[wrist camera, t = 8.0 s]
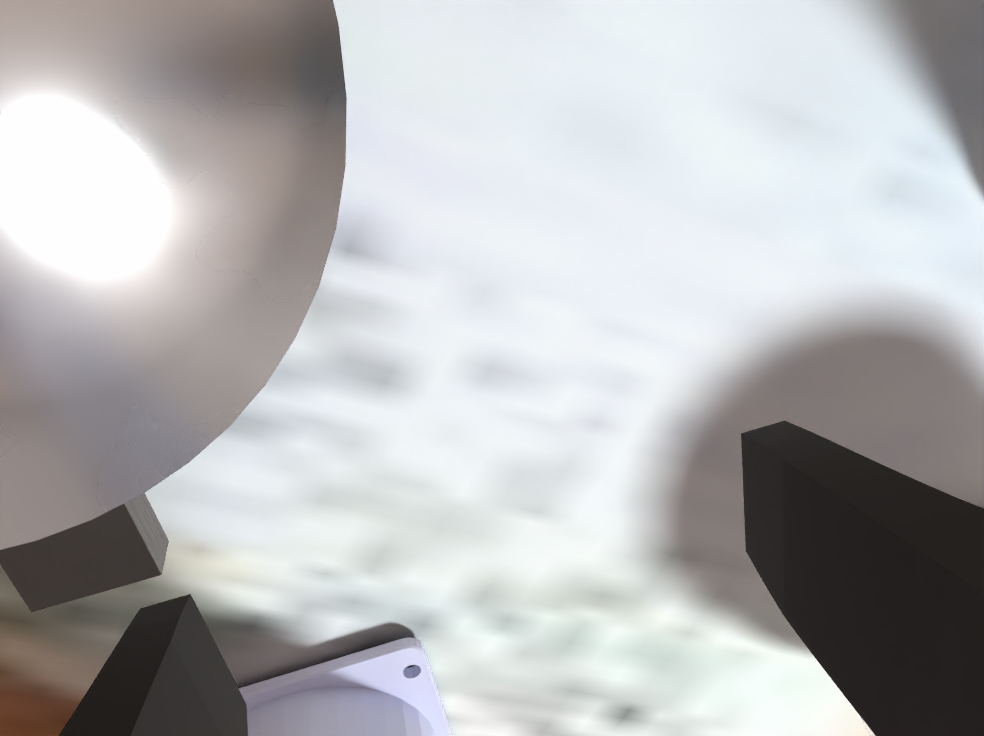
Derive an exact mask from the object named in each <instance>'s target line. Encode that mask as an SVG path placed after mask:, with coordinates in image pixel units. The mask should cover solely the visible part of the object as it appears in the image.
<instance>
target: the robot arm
mask: <svg viewBox="0 0 984 736" xmlns="http://www.w3.org/2000/svg"><path fill="white" fill-rule="evenodd" d="M741 439H742V464H743V490H744V515H745V541H746V552H747V554H748V555H749V557H750V559H751V561H752V562H753V564H754V566H755V568H756V570H757V571H758V573H759V575H760V577H761V578H762V580H763V582H764V584H765V585H766V587H767V589H768V590H769V592H770V594H771V595H772V597H773V599H774V600H775V602H776V604H777V605H778V607H779V609H780V610H781V612H782V614H783V615H784V617H785V618H786V619H787V621H788V622H789V623H790V625H791V626H792V628H793V629H794V630H795V632H796V633H797V634H798V636H799V637H800V638H801V639H802V641H803V642H804V643H805V645H806V646H807V647H808V649H809V650H810V651H811V653H812V654H813V655H814V657H815V658H816V659H817V661H818V662H819V663H820V664H821V666H822V667H823V668H824V670H825V671H826V672H827V674H828V675H829V676H830V677H831V679H832V680H833V681H834V683H835V684H836V685H837V687H838V688H839V689H840V690H841V692H842V693H843V694H844V696H845V697H846V698H847V699H848V701H849V702H850V703H851V705H852V706H853V707H854V709H855V710H856V711H857V712H858V714H859V715H860V716H861V718H862V719H863V720H864V721H865V723H866V724H867V725H868V727H869V728H870V729H871V731H872V732H873V733H874V734H875V736H984V509H982V508H980V507H977V506H975V505H973V504H970V503H968V502H965V501H963V500H961V499H958V498H956V497H953V496H951V495H949V494H946V493H944V492H942V491H939V490H937V489H935V488H933V487H930V486H928V485H926V484H923V483H921V482H919V481H917V480H914V479H912V478H910V477H908V476H906V475H903V474H901V473H899V472H897V471H894V470H892V469H890V468H888V467H886V466H883V465H881V464H879V463H877V462H875V461H873V460H871V459H868V458H866V457H864V456H862V455H860V454H858V453H855V452H853V451H851V450H849V449H847V448H845V447H842V446H840V445H838V444H836V443H834V442H832V441H830V440H827V439H825V438H823V437H821V436H819V435H816V434H814V433H812V432H810V431H807V430H805V429H803V428H801V427H798V426H796V425H793V424H791V423H789V422H786V421H782V422H779V423H775V424H772V425H769V426H765V427H762V428H758V429H755V430H751V431H748V432H745V433H741ZM409 665H416V666H414V667H410V668H407V666H409ZM59 736H453V735H452V732H451V729H450V726H449V723H448V720H447V717H446V714H445V711H444V708H443V705H442V701H441V698H440V695H439V692H438V689H437V686H436V683H435V680H434V677H433V674H432V671H431V668H430V665H429V662H428V659H427V655H426V652H425V649H424V646H423V644H422V643H421V641H419V640H417V639H416V638H410V637H408V638H402V639H399V640H396V641H392V642H389V643H386V644H382V645H379V646H376V647H373V648H369V649H366V650H363V651H360V652H356V653H353V654H350V655H346V656H343V657H340V658H337V659H333V660H330V661H327V662H324V663H320V664H317V665H314V666H310V667H307V668H304V669H301V670H297V671H294V672H291V673H287V674H284V675H281V676H278V677H274V678H271V679H268V680H265V681H261V682H258V683H255V684H251V685H248V686H245V687H242V688H238V687H237V685H236V683H235V681H234V679H233V677H232V675H231V673H230V671H229V669H228V667H227V665H226V663H225V661H224V659H223V657H222V655H221V653H220V651H219V649H218V647H217V645H216V643H215V641H214V639H213V637H212V635H211V633H210V631H209V629H208V628H207V626H206V624H205V622H204V620H203V618H202V616H201V614H200V612H199V610H198V608H197V606H196V604H195V602H194V600H193V598H192V596H191V594H189V595H186V596H182V597H179V598H175V599H172V600H169V601H165V602H162V603H158V604H155V605H151V606H148V607H145V608H141V609H140V610H139V612H138V613H137V615H136V616H135V618H134V619H133V621H132V622H131V624H130V625H129V627H128V628H127V630H126V631H125V633H124V635H123V636H122V638H121V639H120V641H119V642H118V644H117V646H116V647H115V649H114V650H113V652H112V653H111V655H110V657H109V658H108V660H107V661H106V663H105V664H104V666H103V668H102V669H101V671H100V672H99V674H98V676H97V677H96V679H95V680H94V682H93V683H92V685H91V687H90V688H89V690H88V691H87V693H86V694H85V696H84V698H83V699H82V701H81V702H80V704H79V705H78V707H77V709H76V710H75V712H74V713H73V715H72V716H71V718H70V719H69V721H68V722H67V724H66V725H65V727H64V729H63V730H62V732H61V733H60V735H59Z"/></svg>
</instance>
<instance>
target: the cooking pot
mask: <svg viewBox="0 0 984 736" xmlns="http://www.w3.org/2000/svg"><path fill="white" fill-rule="evenodd" d="M167 546H168V539H167V537H166V535H165V533H164V531H163V529H162V527H161V525H160V523H159V521H158V519H157V517H156V515H155V513H154V511H153V509H152V507H151V505H150V503H149V501H148V499H147V497H146V495H145V493H143V494H141V495H139V496H137V497H135V498H133V499H132V500H130V501H128V502H126V503H124V504H122V505H120V506H118V507H116V508H114V509H112V510H110V511H108V512H106V513H104V514H102V515H100V516H98V517H96V518H94V519H92V520H90V521H87V522H85V523H82V524H79V525H77V526H74V527H71V528H69V529H66V530H63V531H61V532H58V533H55V534H53V535H50V536H47V537H45V538H42V539H39V540H37V541H33V542H29V543H25V544H21V545H17V546H13V547H10V548H6V549H2V550H0V564H1V566H2V567H3V569H4V571H5V572H6V574H7V575H8V577H9V578H10V580H11V581H12V583H13V584H14V586H15V587H16V589H17V591H18V592H19V594H20V595H21V597H22V598H23V600H24V601H25V603H26V604H27V606H28V607H29V609H30V611H31V612H34V611H37V610H41V609H44V608H47V607H51V606H54V605H58V604H61V603H65V602H68V601H72V600H75V599H79V598H82V597H86V596H89V595H93V594H96V593H100V592H103V591H106V590H110V589H113V588H117V587H120V586H124V585H127V584H131V583H134V582H138V581H141V580H145V579H148V578H152V577H155V576H159V575H162V570H163V565H164V560H165V555H166V551H167Z"/></svg>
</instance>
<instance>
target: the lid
mask: <svg viewBox="0 0 984 736" xmlns="http://www.w3.org/2000/svg"><path fill="white" fill-rule="evenodd" d="M345 151H346V90H345V81H344V72H343V62H342V53H341V44H340V35H339V26H338V21H337V17H336V12H335V8H334V4H333V0H0V550H2V549H6V548H10V547H13V546H17V545H21V544H25V543H29V542H33V541H37V540H39V539H42V538H45V537H47V536H50V535H53V534H55V533H58V532H61V531H63V530H66V529H69V528H71V527H74V526H77V525H79V524H82V523H85V522H87V521H90V520H92V519H94V518H96V517H98V516H100V515H102V514H104V513H106V512H108V511H110V510H112V509H114V508H116V507H118V506H120V505H122V504H124V503H126V502H128V501H130V500H132V499H133V498H135V497H137V496H139V495H141V494H143V493H145V492H146V491H147V490H149V489H150V488H152V487H153V486H155V485H156V484H158V483H159V482H161V481H162V480H164V479H165V478H167V477H168V476H170V475H171V474H173V473H174V472H176V471H177V470H178V469H180V468H181V467H183V466H184V465H186V464H187V463H189V462H190V461H191V460H192V459H193V458H194V457H195V456H197V455H198V454H199V453H200V452H201V451H202V450H203V449H205V448H206V447H207V446H208V445H209V444H210V443H211V442H212V441H214V440H215V439H216V438H217V437H218V436H219V435H220V434H221V433H223V432H224V431H225V430H226V429H227V428H228V427H229V426H230V425H231V424H232V423H233V422H234V421H235V419H236V418H237V417H238V416H239V415H240V414H241V412H242V411H243V410H244V409H245V408H246V407H247V405H248V404H249V403H250V402H251V401H252V400H253V398H254V397H255V396H256V395H257V394H258V393H259V391H260V390H261V389H262V388H263V387H264V386H265V384H266V383H267V381H268V380H269V378H270V376H271V375H272V373H273V372H274V370H275V369H276V367H277V366H278V364H279V362H280V361H281V359H282V358H283V356H284V355H285V353H286V352H287V350H288V348H289V347H290V345H291V344H292V342H293V341H294V339H295V337H296V335H297V333H298V331H299V328H300V326H301V324H302V322H303V320H304V318H305V315H306V313H307V311H308V309H309V307H310V304H311V302H312V300H313V298H314V296H315V293H316V291H317V289H318V287H319V284H320V280H321V277H322V274H323V270H324V267H325V264H326V260H327V257H328V253H329V250H330V247H331V243H332V240H333V237H334V233H335V230H336V224H337V217H338V211H339V204H340V198H341V191H342V184H343V178H344V171H345Z"/></svg>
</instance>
